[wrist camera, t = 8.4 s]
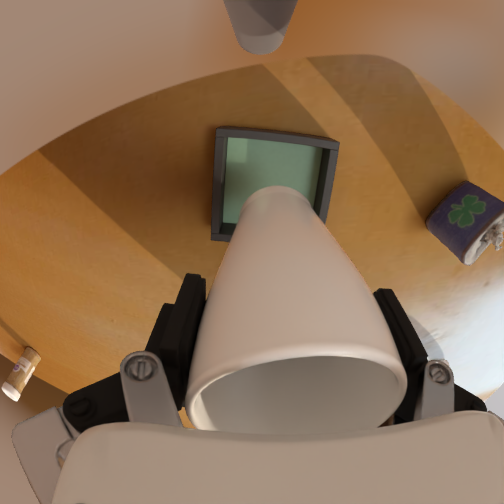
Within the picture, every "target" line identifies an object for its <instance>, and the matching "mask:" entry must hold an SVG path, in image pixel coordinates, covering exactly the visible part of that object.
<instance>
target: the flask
mask: <svg viewBox="0 0 504 504" xmlns="http://www.w3.org/2000/svg"><path fill="white" fill-rule="evenodd" d="M426 226H427V229H428V230H429V231H430V232H431V233H432V234H433V235H434V236H436V237H437V238H438V239H439V240H440V241H441V242H442V243H443V244H444V245H445V246H447V247H448V248H449V250H450V251H451V252H453V253H454V254H455V255H456V256H457V257H458V258H459V260H460V261H461V262H462V263H463V264H465V265H469V266H470V265H471V264H473V263H474V262H475V261H476V260H477V258H478V257H479V256H480V255H481V253H482V252H483V251H484V250H485V249H486V248H487V247H488V246H489V245H490V244H491V243H492V244H493V245H495V250H499V249H501V248H502V246H500V247H499V244H501V243H502V242H503V239H504V238H502V237H503V234H502V232H503V231H504V202H502V201H501V200H499V199H498V198H496V197H494V196H493V195H491V194H489V193H488V192H486V191H485V190H483V189H482V188H480V187H478V186H476V185H474V184H472V183H470V182H469V181H464V182H462V183H460V184H459V185H458V186H456V187H455V188H454V189H453V190H452V191H450V192H449V194H447V195H446V197H445V198H444V199H443V200H442V201H441V202H440V203H439V204H438V205H437V207H435V209H434V210H433V211H432V212H431V213H430V215H429V217H428V218H427V220H426Z"/></svg>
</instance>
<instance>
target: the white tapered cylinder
mask: <svg viewBox="0 0 504 504" xmlns="http://www.w3.org/2000/svg"><path fill="white" fill-rule="evenodd" d="M406 391H407V375H406V371H405V369H404V366H403V364H402V361H401V358H400V355H399V352H398V349H397V346H396V344H395V341H394V338H393V336H392V333H391V331H390V328H389V326H388V324H387V321H386V319H385V317H384V315H383V313H382V310H381V308H380V306H379V305H378V303H377V301H376V299H375V297H374V295H373V293H372V291H371V290H370V288H369V286H368V284H367V283H366V281H365V280H364V278H363V276H362V275H361V273H360V272H359V270H358V269H357V267H356V266H355V265H354V263H353V262H352V260H351V259H350V258H349V256H348V255H347V254H346V252H345V251H344V250H343V248H342V247H341V246H340V244H339V243H338V242H337V240H336V239H335V238H334V236H333V235H332V234H331V232H330V231H329V230H328V228H327V227H326V226H325V224H324V223H323V222H322V220H321V219H320V218H319V217H318V215H317V214H316V213H315V211H314V209H313V207H312V205H311V204H310V202H309V201H308V200H307V198H306V197H305V196H304V195H303V194H301V193H300V192H298V191H297V190H295V189H293V188H290V187H286V186H279V185H275V186H268V187H264V188H262V189H259V190H258V191H256V192H254V193H253V194H252V195H251V196H249V197H248V199H247V200H246V201H245V202H244V204H243V206H242V208H241V210H240V213H239V217H238V222H237V224H236V227H235V229H234V232H233V234H232V237H231V239H230V242H229V244H228V247H227V249H226V251H225V254H224V256H223V259H222V261H221V263H220V266H219V268H218V271H217V273H216V276H215V278H214V281H213V283H212V286H211V288H210V291H209V294H208V297H207V300H206V302H205V306H204V309H203V312H202V315H201V319H200V322H199V326H198V330H197V334H196V339H195V343H194V348H193V353H192V359H191V364H190V371H189V377H188V384H187V391H186V396H185V410H186V414H187V416H188V418H189V420H190V421H191V423H192V424H193V425H194V426H195V428H196V429H201V430H210V431H221V432H233V433H248V434H320V433H335V432H346V431H356V430H364V429H372V428H377V427H379V426H380V425H381V424H382V423H384V422H385V421H386V420H387V419H388V418H389V417H390V416H391V415H392V414H393V413H394V412H395V411H396V410H397V409H398V407H399V406H400V404H401V403H402V401H403V399H404V397H405V394H406Z"/></svg>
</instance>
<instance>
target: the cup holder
mask: <svg viewBox="0 0 504 504" xmlns="http://www.w3.org/2000/svg"><path fill="white" fill-rule="evenodd" d="M339 144H340V143H339V142H338V141H336V140H333V139H331V138H327V137H321V136H315V135H308V134H301V133H294V132H286V131H278V130H268V129H258V128H247V127H233V126H220V127H218V128H216V137H215V152H214V170H213V191H212V218H211V240H214V241H225V242H230V239H231V237H232V234H233V232H234V229H235V227H236V224H237V222H238V217H239V213H240V210H241V208H242V206H243V204H244V202H245V201H246V200H247V199H248V197H249V196H251V195H252V194H253V193H254V192H256V191H258V190H259V189H262V188H264V187H268V186H275V185H279V186H286V187H290V188H293V189H295V190H297V191H298V192H300V193H301V194H303V195H304V196H305V197H306V198H307V200H308V201H309V202H310V204H311V205H312V207H313V209H314V211H315V213H316V214H317V215H318V217H319V218H320V219H321V220H322V222H323V223H324V224H325V223H326V218H327V213H328V208H329V203H330V197H331V192H332V187H333V181H334V175H335V170H336V164H337V158H338V150H339Z"/></svg>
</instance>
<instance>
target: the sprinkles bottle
mask: <svg viewBox="0 0 504 504" xmlns="http://www.w3.org/2000/svg"><path fill="white" fill-rule="evenodd" d="M39 361H40V356H39V355H38V353H37V352H36V351H35V350H33V349H32V348H30V347H27V348H26V350H25V351H24V353H23V354H22V356H21V357H20V359H19V360H18V362H17V363H16V365H15V367H14V369H13V370H12V372H11V374H10V376H9V377H8V379H7V381H6V382H4V384H3V386H2V390H3V391H4V393H5V394H6V395H8V396H9V397H10V398H11V399H12V400H15V401H18V399H19V397H20V394H21V392H22V390H23V388H24V386H25V385H26V383H27V382H28V380H29V378H30V376H31V375H32V373H33V371H34V370H35V367H36V365H37V364H38V362H39Z"/></svg>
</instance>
